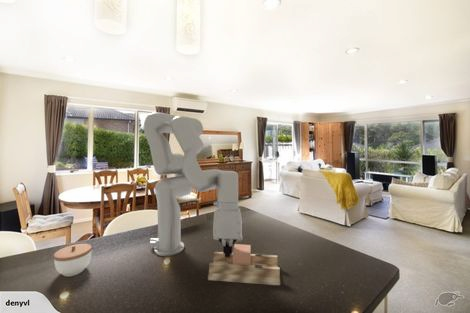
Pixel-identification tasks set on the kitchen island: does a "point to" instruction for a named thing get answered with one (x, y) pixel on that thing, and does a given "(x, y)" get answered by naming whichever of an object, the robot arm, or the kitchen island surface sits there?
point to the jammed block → (242, 254)
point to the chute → (245, 269)
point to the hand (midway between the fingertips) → (227, 255)
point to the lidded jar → (72, 259)
